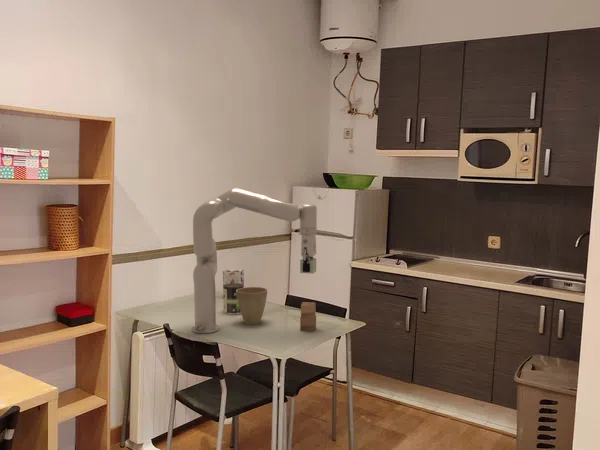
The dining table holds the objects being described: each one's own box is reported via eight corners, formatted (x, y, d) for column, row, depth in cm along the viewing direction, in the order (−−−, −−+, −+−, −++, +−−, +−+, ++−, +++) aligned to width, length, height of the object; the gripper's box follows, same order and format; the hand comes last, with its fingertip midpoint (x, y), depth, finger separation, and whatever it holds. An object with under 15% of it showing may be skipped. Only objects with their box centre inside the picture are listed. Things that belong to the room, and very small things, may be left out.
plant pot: (265, 317, 293) (265, 286, 292) (269, 326, 279) (269, 292, 277) (235, 319, 291) (235, 287, 289) (237, 327, 276) (237, 293, 275)
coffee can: (247, 311, 305) (247, 284, 304) (233, 315, 297) (233, 288, 296) (233, 308, 312) (232, 282, 310) (219, 312, 303) (218, 285, 302)
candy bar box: (244, 297, 338) (244, 269, 336) (242, 299, 333) (241, 270, 331) (225, 296, 340) (225, 268, 338) (222, 298, 335) (222, 270, 333)
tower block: (314, 318, 269) (314, 305, 269) (300, 318, 270) (300, 305, 269) (315, 315, 275) (315, 302, 274) (302, 314, 276) (302, 302, 275)
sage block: (313, 273, 267) (313, 260, 266) (300, 272, 268) (300, 259, 268) (316, 271, 273) (316, 258, 272) (303, 270, 274) (303, 257, 274)
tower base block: (312, 331, 269) (312, 318, 269) (300, 330, 271) (300, 317, 270) (316, 328, 275) (316, 315, 275) (303, 327, 277) (303, 314, 276)
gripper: (311, 233, 259) (311, 274, 261) (320, 229, 276) (320, 267, 278) (295, 233, 261) (295, 273, 263) (305, 229, 278) (305, 267, 280)
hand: (308, 270), depth 270 cm, fingers closed on sage block, 6 cm apart
